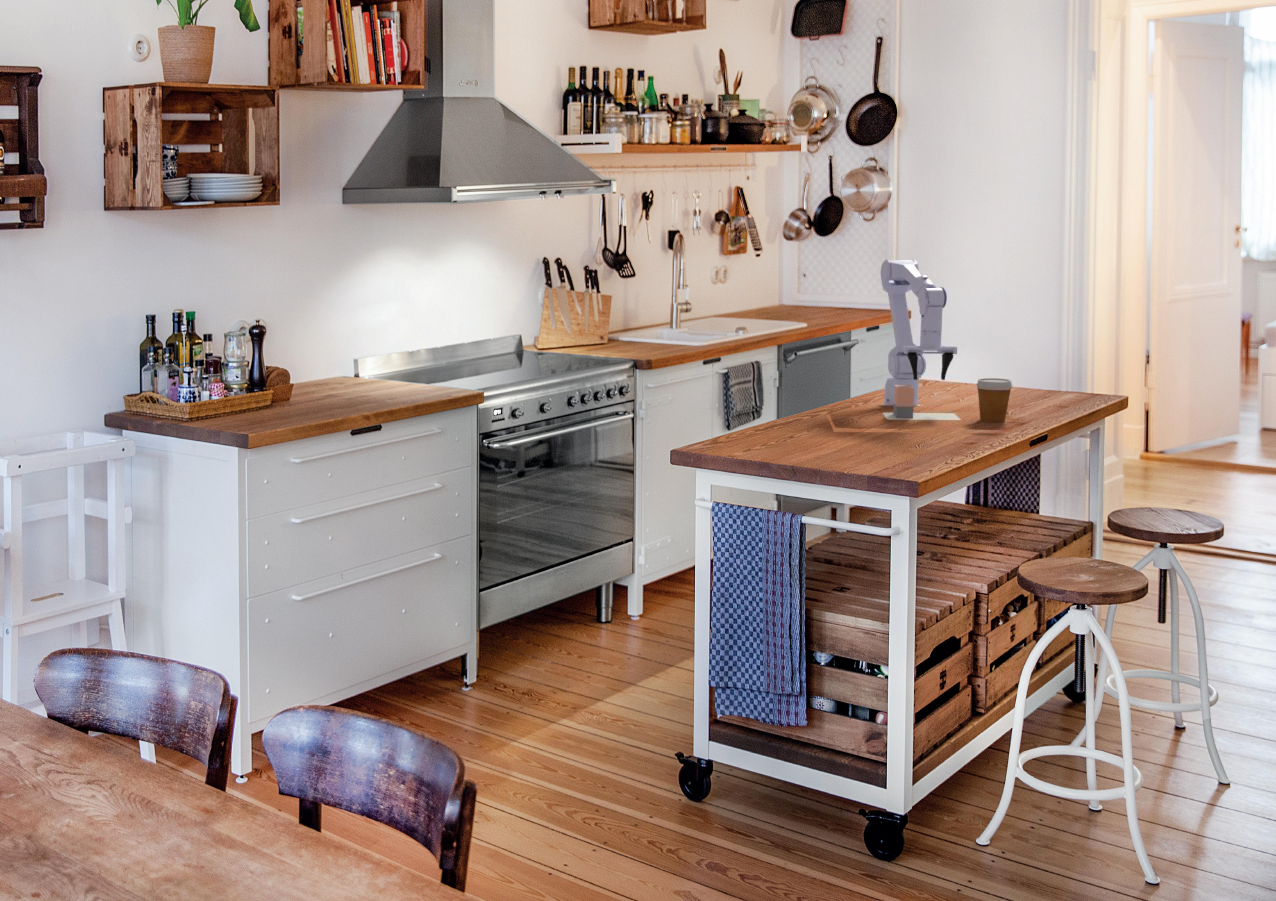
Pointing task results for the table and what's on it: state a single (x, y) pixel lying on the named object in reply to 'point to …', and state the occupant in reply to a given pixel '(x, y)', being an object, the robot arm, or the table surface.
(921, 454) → the table surface
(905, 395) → the terracotta brick
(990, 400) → the disposable coffee cup
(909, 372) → the robot arm
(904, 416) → the charcoal brick
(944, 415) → the baseplate
